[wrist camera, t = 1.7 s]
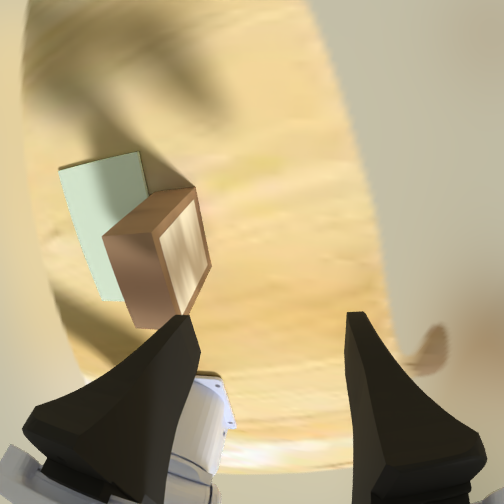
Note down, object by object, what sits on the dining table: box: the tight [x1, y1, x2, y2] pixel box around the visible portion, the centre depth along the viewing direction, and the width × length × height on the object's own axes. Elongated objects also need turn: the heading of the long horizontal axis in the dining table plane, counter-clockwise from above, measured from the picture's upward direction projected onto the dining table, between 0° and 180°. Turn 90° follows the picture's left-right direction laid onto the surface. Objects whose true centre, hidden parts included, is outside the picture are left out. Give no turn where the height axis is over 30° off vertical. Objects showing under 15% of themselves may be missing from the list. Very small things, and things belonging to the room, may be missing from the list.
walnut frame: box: [101, 187, 212, 330], centre depth 19 cm, size 6×3×7 cm, turn 8°
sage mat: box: [58, 151, 149, 301], centre depth 23 cm, size 12×8×1 cm, turn 8°
